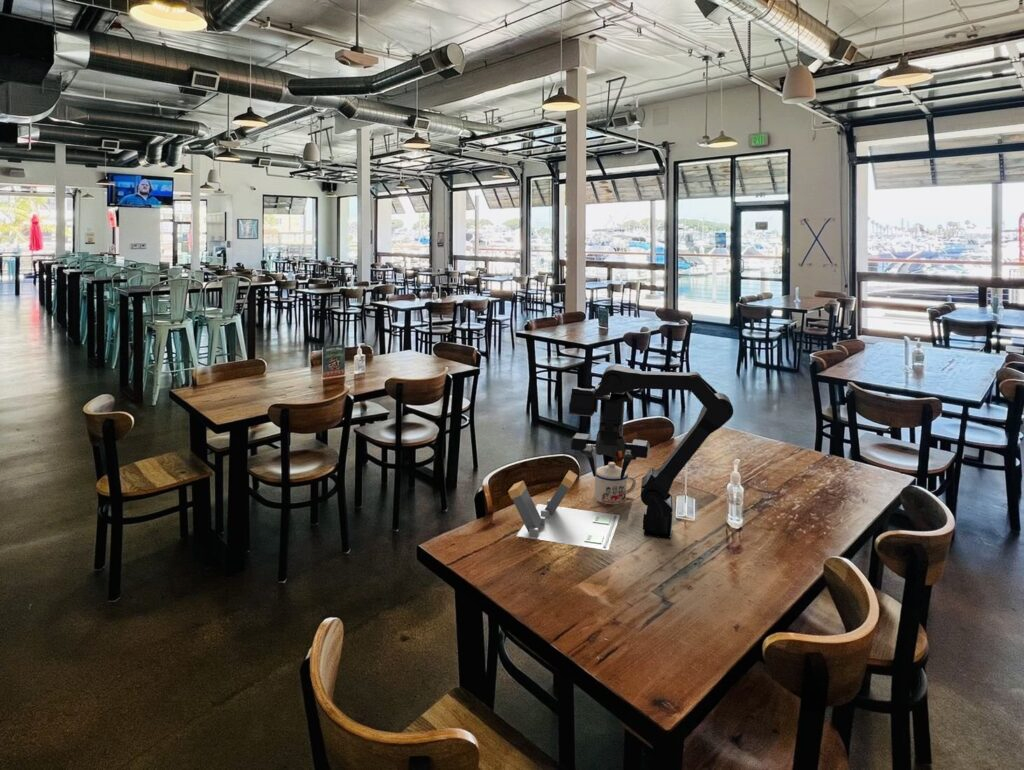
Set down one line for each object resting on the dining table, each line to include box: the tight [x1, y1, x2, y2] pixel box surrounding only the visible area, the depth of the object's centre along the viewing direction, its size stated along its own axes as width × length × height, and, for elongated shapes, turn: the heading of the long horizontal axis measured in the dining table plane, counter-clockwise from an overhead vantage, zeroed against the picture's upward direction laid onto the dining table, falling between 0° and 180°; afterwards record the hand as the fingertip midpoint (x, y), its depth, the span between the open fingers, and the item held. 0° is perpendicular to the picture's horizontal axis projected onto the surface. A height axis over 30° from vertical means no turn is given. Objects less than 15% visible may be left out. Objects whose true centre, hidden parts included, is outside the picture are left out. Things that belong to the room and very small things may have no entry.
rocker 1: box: [507, 480, 542, 533], centre depth 156 cm, size 3×5×11 cm, turn 163°
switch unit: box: [516, 498, 621, 551], centre depth 160 cm, size 22×20×4 cm
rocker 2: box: [545, 469, 579, 516], centre depth 165 cm, size 3×5×11 cm
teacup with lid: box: [593, 461, 637, 505], centre depth 176 cm, size 12×9×12 cm
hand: (608, 477), depth 160 cm, fingers open, 6 cm apart
